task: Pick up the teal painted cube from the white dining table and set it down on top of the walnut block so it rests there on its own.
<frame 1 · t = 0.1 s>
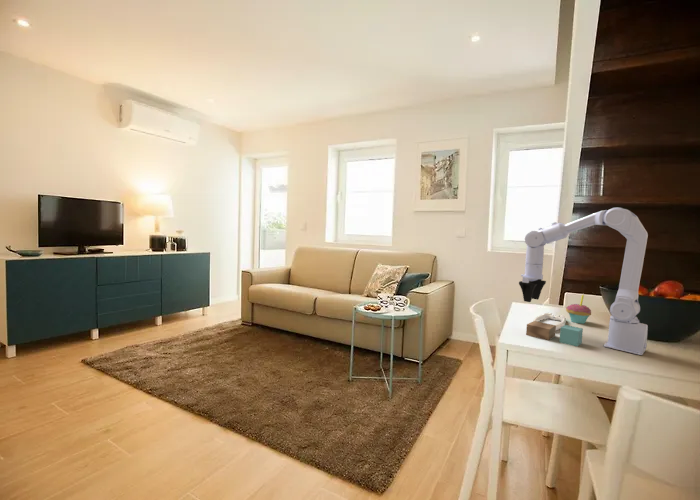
hand: (531, 300, 129), 10 cm above the table, fingers open, 7 cm apart
walnut block: (540, 336, 120), on the table
teal cube: (570, 343, 113), on the table
white curved loop: (549, 325, 134), on the table
cupcake: (577, 322, 140), on the table
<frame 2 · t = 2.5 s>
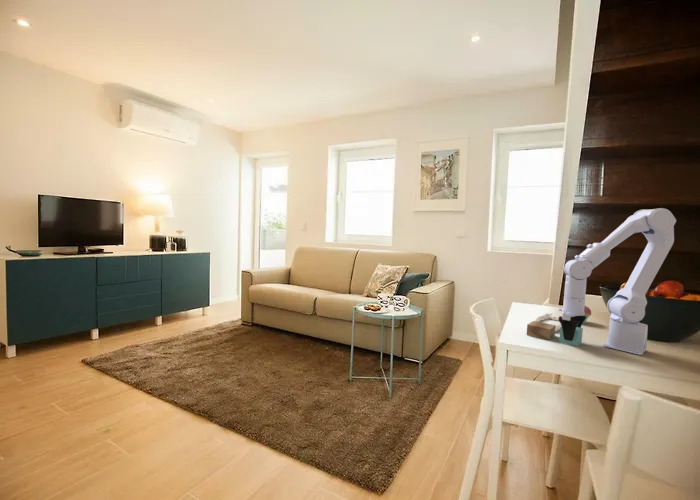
hand: (570, 338, 113), 1 cm above the table, fingers closed on teal cube, 5 cm apart
teal cube: (570, 342, 113), on the table, touching gripper
everything else where it was.
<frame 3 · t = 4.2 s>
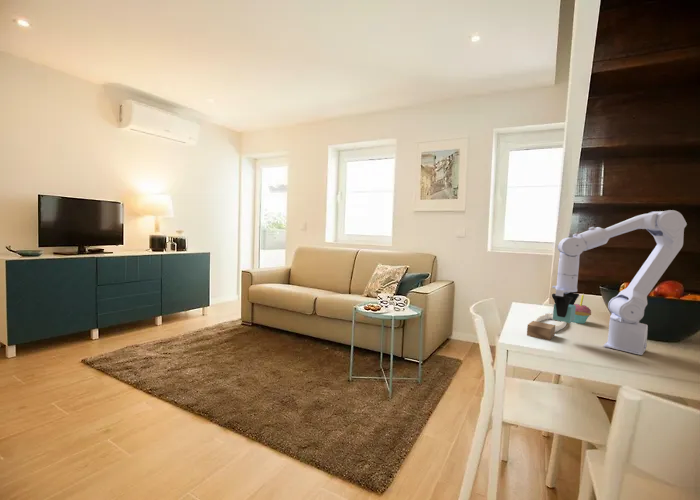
hand: (563, 315, 114), 9 cm above the table, fingers closed on teal cube, 5 cm apart
teal cube: (563, 319, 115), point 7 cm above the table, touching gripper
everything else where it was.
when the fingers open (7 cm above the table, at t = 5.8 s): teal cube drops 2 cm, resting on walnut block.
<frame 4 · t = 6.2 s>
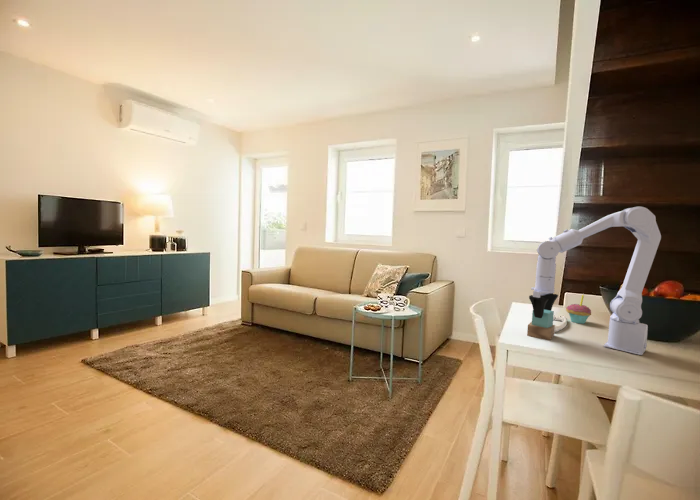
hand: (542, 315, 119), 7 cm above the table, fingers open, 7 cm apart
walnut block: (540, 336, 120), on the table, touching teal cube
teal cube: (542, 325, 119), point 4 cm above the table, touching walnut block
everything else where it was.
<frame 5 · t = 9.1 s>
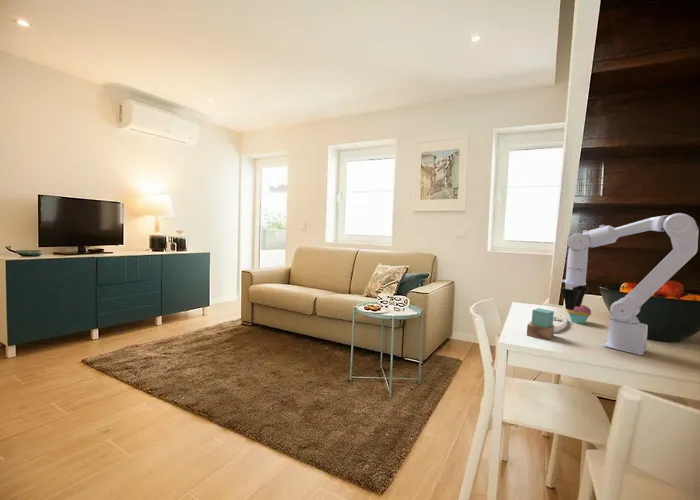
hand: (573, 307, 120), 10 cm above the table, fingers open, 7 cm apart
nothing on the table moved.
at the end: teal cube 0.4 cm off-centre on the walnut block, point 4.0 cm above the walnut block's base; teal cube tilted 0°; teal cube touching walnut block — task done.
